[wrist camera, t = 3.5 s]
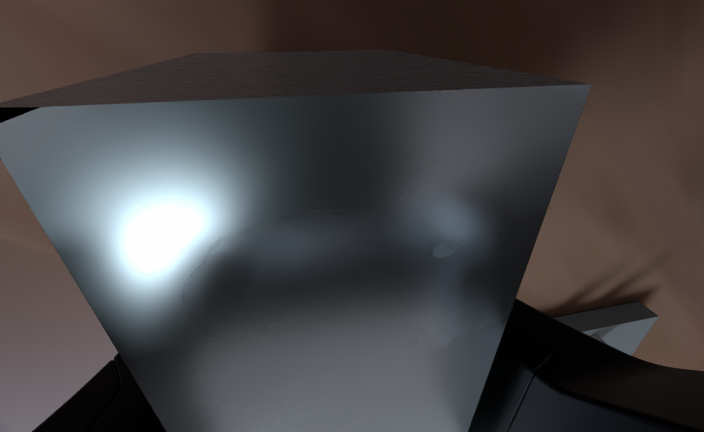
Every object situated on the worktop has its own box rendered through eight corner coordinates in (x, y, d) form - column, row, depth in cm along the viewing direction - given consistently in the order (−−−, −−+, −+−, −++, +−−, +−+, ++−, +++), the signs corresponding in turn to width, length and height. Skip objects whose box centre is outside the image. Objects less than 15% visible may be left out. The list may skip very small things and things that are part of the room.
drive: (389, 49, 8) (596, 83, 3) (376, 325, 13) (439, 516, 8) (192, 53, 7) (-39, 110, 2) (261, 344, 12) (247, 569, 7)
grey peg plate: (638, 301, 19) (720, 362, 16) (560, 426, 27) (602, 486, 23) (475, 332, 17) (524, 409, 14) (440, 457, 25) (467, 526, 22)
